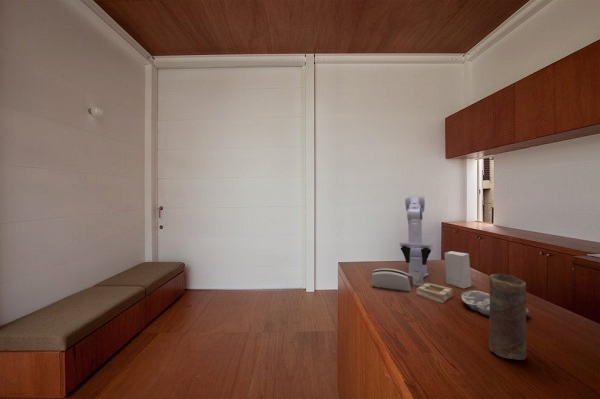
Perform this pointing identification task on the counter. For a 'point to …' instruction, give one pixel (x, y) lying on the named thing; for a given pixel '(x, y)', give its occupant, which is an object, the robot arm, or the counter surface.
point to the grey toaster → (391, 279)
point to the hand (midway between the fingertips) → (415, 263)
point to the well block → (435, 292)
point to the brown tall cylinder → (507, 317)
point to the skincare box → (457, 269)
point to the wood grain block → (418, 278)
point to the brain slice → (479, 301)
